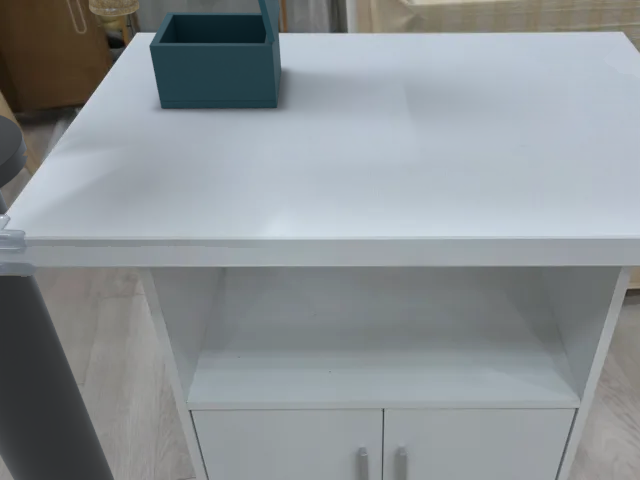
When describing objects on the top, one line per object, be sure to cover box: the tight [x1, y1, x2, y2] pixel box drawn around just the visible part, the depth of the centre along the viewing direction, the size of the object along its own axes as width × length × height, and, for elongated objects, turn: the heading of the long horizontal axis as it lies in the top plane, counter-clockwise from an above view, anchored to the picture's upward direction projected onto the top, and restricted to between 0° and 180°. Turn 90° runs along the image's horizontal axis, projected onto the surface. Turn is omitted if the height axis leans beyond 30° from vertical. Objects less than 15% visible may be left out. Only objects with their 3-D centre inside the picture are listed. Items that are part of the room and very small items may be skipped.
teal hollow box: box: [149, 11, 282, 109], centre depth 90 cm, size 15×13×8 cm
